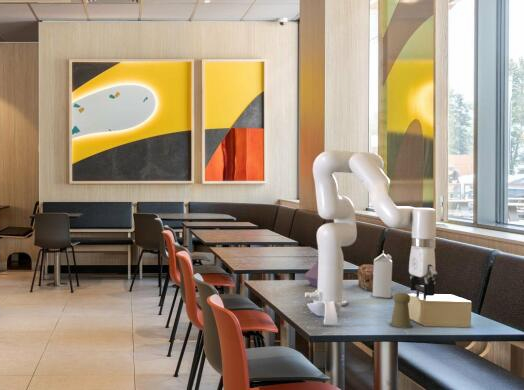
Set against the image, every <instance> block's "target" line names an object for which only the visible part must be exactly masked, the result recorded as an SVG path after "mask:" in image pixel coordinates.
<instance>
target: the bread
mask: <svg viewBox="0 0 524 390" xmlns="http://www.w3.org/2000/svg"><path fill="white" fill-rule="evenodd" d="M373 272H374V264H369V263H367V264H361V265H360V266H359V267H358V270H357V282H358V285H359V286H360V287H361V288H362V289H364V290H365V291H369V292H373Z"/></svg>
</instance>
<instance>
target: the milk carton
mask: <svg viewBox="0 0 524 390" xmlns="http://www.w3.org/2000/svg"><path fill="white" fill-rule="evenodd" d="M384 252H385V251H384V250H382V253H381V254H380V255H379V256H377V257H375V258H374V259H373V265H374V272H373V291H372V297H375V298H386V299H391V298H392V280H393V279H392V277H393V260H392V259H393V258H392V255H390V254H389V253H387V254H386V253H384Z"/></svg>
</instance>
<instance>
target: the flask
mask: <svg viewBox="0 0 524 390" xmlns="http://www.w3.org/2000/svg"><path fill="white" fill-rule="evenodd" d="M304 276H305V278H306V279H307V281H308V282H309V283H310V284H311V285H310V286H312V287H316V288H317V287H318V257H317V259H316V262H315V264H314V265H313V266H312V267H311V268H310V269H309V270H308V271H306V273H304Z"/></svg>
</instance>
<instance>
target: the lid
mask: <svg viewBox="0 0 524 390" xmlns="http://www.w3.org/2000/svg"><path fill="white" fill-rule="evenodd" d="M415 288H416V289H417V291H416V293H407V294H408V295H409V296H410V297H411V298H413V299H415V300H418V301H420V302H423V303H452V304H472V303H473V302H472V301H471V300H468V299H466V298H463V297H459V296H457V295H456V294H455V295H454V294H444V293H443V294H442V293H439V294H438V293H434V296H425V295H424V285H421V284H420V285H419V284H416V285H415ZM419 290H420V291H422V292H423V293H420V291H419Z"/></svg>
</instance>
